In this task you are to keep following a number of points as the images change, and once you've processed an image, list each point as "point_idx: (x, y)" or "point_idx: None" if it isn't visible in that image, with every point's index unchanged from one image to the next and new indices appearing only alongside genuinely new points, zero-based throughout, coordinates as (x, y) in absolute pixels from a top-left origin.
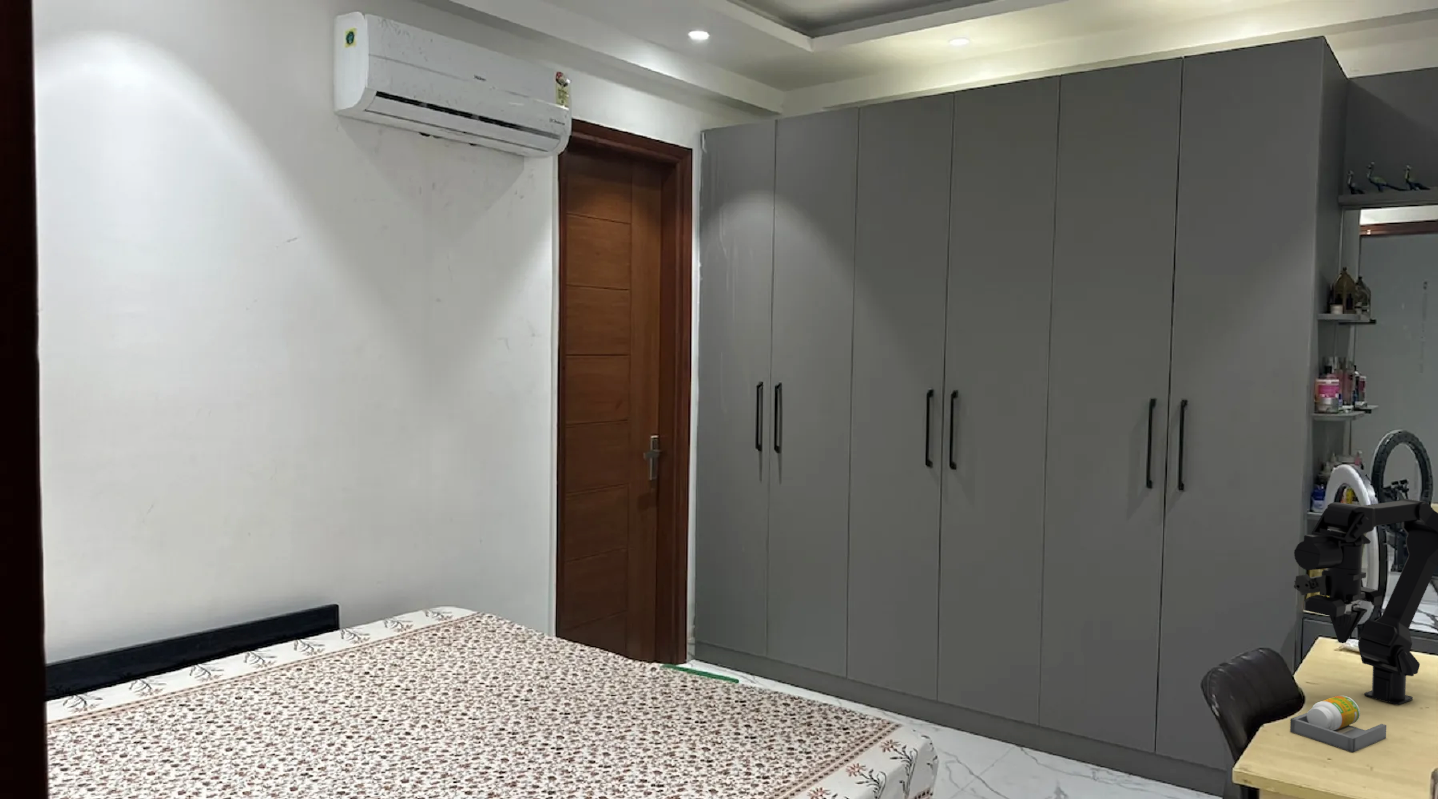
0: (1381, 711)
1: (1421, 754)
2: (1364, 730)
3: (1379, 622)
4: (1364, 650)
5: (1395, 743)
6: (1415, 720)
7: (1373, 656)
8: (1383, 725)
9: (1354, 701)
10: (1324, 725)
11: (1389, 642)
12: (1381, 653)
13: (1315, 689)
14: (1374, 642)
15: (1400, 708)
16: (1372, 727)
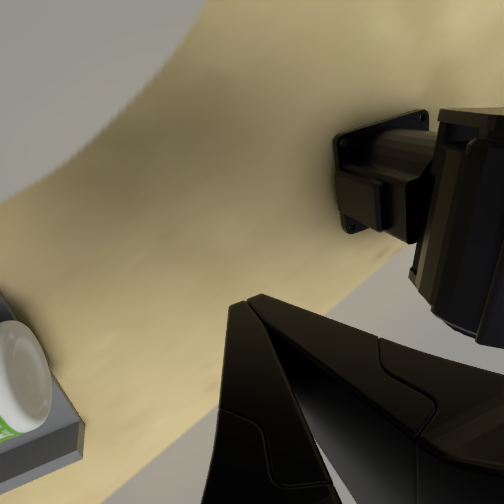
0: (260, 257)
1: (91, 501)
2: (54, 392)
3: None
4: (450, 181)
5: (83, 451)
6: None
7: (430, 222)
8: (69, 461)
9: (32, 427)
10: None
11: (498, 345)
12: (438, 280)
13: (234, 3)
14: (499, 248)
15: (331, 247)
16: (14, 477)
